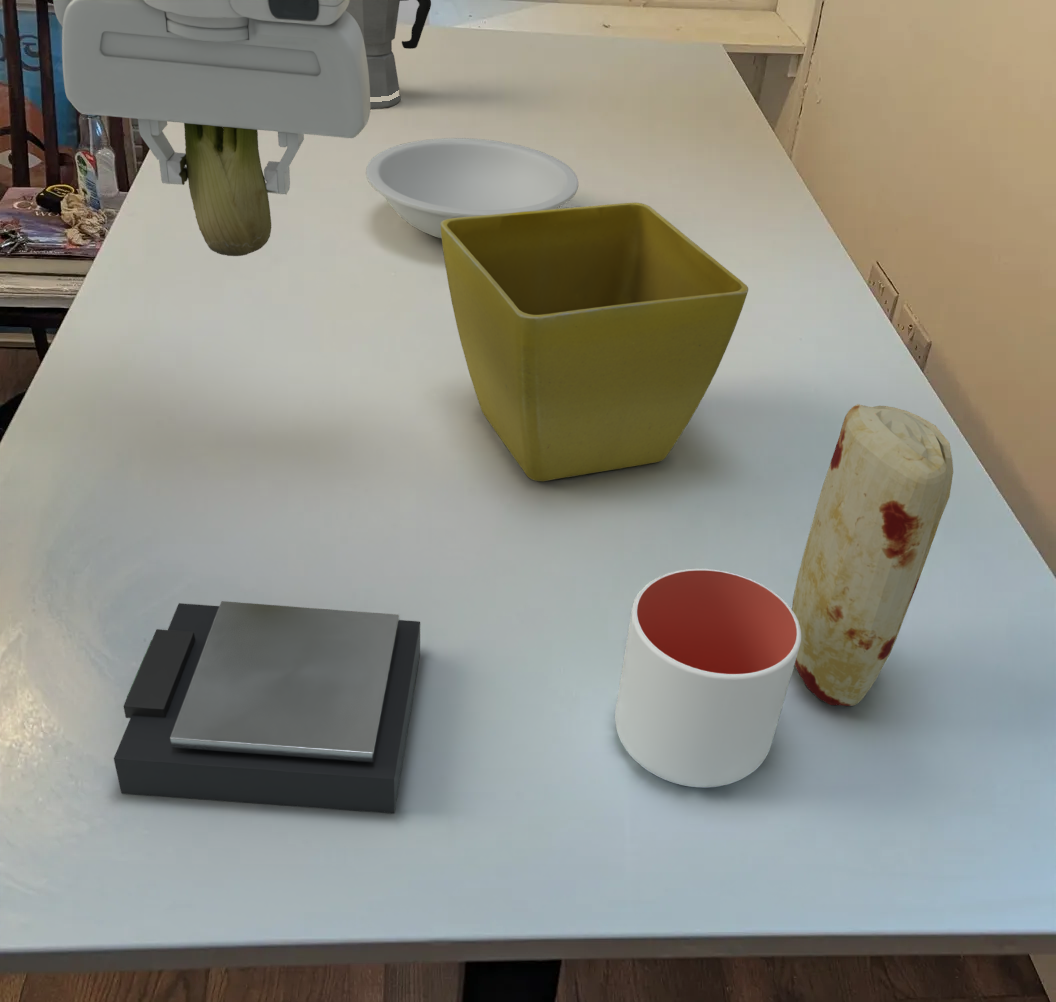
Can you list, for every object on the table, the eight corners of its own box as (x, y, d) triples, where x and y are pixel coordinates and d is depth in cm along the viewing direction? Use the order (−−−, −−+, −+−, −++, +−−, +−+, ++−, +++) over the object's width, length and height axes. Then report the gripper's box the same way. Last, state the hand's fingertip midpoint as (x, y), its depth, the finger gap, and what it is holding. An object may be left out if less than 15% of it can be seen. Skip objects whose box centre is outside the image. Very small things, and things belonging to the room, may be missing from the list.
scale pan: (170, 747, 68) (169, 738, 67) (222, 609, 77) (221, 600, 77) (373, 763, 68) (373, 753, 67) (399, 623, 77) (399, 614, 77)
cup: (784, 796, 72) (822, 677, 66) (624, 798, 71) (646, 678, 65) (748, 684, 80) (778, 567, 74) (602, 684, 79) (620, 566, 73)
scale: (112, 793, 69) (102, 749, 67) (176, 636, 80) (169, 594, 77) (394, 813, 69) (394, 771, 67) (420, 654, 80) (420, 613, 78)
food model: (756, 634, 84) (819, 385, 72) (842, 625, 86) (919, 380, 73) (810, 731, 77) (891, 474, 64) (903, 720, 78) (1000, 466, 66)
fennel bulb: (185, 241, 87) (166, 70, 80) (242, 227, 90) (230, 61, 83) (227, 269, 84) (211, 94, 77) (285, 254, 87) (276, 84, 79)
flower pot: (432, 396, 107) (436, 216, 96) (621, 371, 113) (644, 198, 103) (508, 513, 94) (522, 318, 83) (717, 476, 100) (755, 291, 89)
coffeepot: (318, 105, 169) (312, -35, 157) (329, 86, 176) (324, -50, 165) (426, 114, 169) (428, -25, 158) (432, 94, 176) (435, -40, 165)
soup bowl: (408, 284, 125) (408, 223, 121) (340, 201, 141) (338, 145, 137) (608, 260, 133) (615, 202, 129) (522, 184, 150) (526, 131, 146)
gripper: (28, -34, 73) (66, 189, 81) (360, -2, 73) (362, 216, 82) (63, -54, 78) (94, 158, 86) (373, -24, 78) (374, 183, 87)
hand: (227, 186), depth 84 cm, fingers closed on fennel bulb, 6 cm apart
